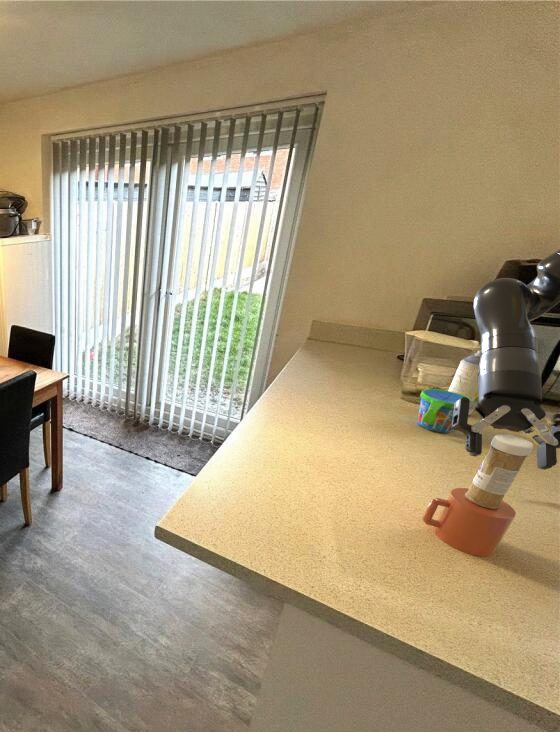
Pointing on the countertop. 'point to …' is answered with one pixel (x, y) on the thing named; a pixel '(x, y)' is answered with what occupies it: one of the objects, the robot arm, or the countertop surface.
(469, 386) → the aerosol can
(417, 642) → the countertop surface
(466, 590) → the countertop surface
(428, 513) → the upturned cup
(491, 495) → the brown spice jar
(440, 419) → the snack cup
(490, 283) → the robot arm
